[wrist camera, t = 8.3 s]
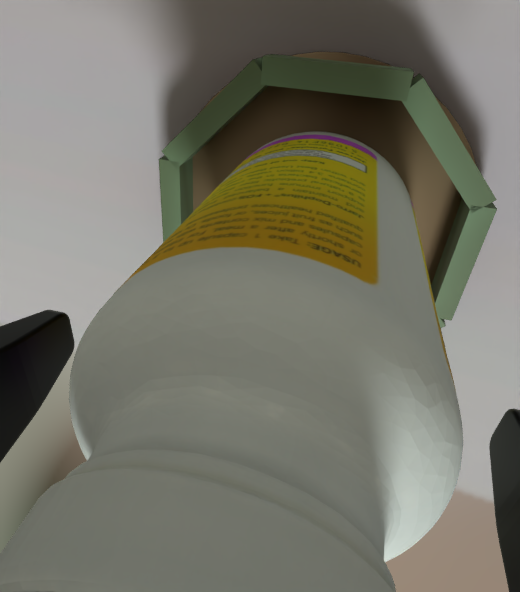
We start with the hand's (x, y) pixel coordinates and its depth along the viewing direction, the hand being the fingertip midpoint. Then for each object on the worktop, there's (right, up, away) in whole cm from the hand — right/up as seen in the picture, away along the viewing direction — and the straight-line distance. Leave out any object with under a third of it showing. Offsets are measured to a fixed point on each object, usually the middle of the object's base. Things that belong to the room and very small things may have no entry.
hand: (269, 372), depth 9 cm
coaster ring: (+2, +4, +7) cm, 8 cm away
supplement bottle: (+2, +4, +6) cm, 8 cm away
